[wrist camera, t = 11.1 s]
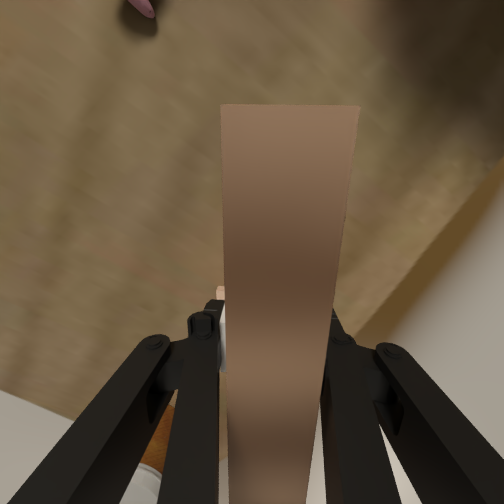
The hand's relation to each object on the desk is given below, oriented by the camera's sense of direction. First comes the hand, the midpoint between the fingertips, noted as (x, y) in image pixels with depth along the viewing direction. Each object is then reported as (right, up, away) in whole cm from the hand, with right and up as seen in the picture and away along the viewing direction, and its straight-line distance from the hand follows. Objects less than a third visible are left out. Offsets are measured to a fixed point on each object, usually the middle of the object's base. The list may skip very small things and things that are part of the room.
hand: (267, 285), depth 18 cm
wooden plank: (0, 0, 0) cm, 0 cm away
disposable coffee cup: (-17, -26, +27) cm, 41 cm away
